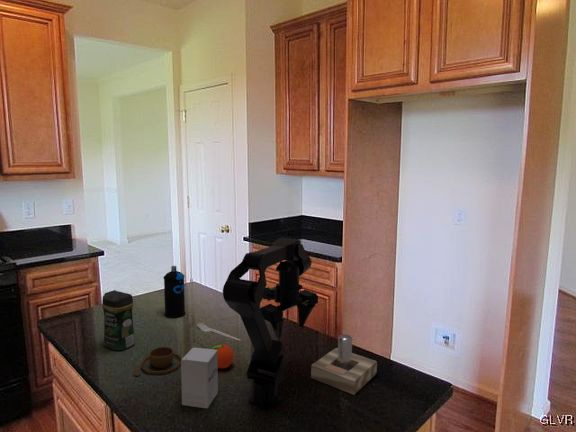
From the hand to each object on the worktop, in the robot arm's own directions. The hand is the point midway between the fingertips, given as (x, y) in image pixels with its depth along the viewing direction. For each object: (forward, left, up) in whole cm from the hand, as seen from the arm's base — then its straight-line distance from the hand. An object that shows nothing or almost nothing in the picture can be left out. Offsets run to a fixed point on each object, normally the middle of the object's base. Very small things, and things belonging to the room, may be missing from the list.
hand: (290, 332), depth 120 cm
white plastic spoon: (+7, +37, -14) cm, 40 cm away
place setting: (-21, +30, -14) cm, 39 cm away
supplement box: (-25, +11, -13) cm, 30 cm away
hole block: (+9, -13, -13) cm, 21 cm away
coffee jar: (-21, +56, -13) cm, 61 cm away
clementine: (-10, +19, -13) cm, 25 cm away
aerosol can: (+8, +64, -13) cm, 66 cm away
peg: (+9, -13, -13) cm, 21 cm away
